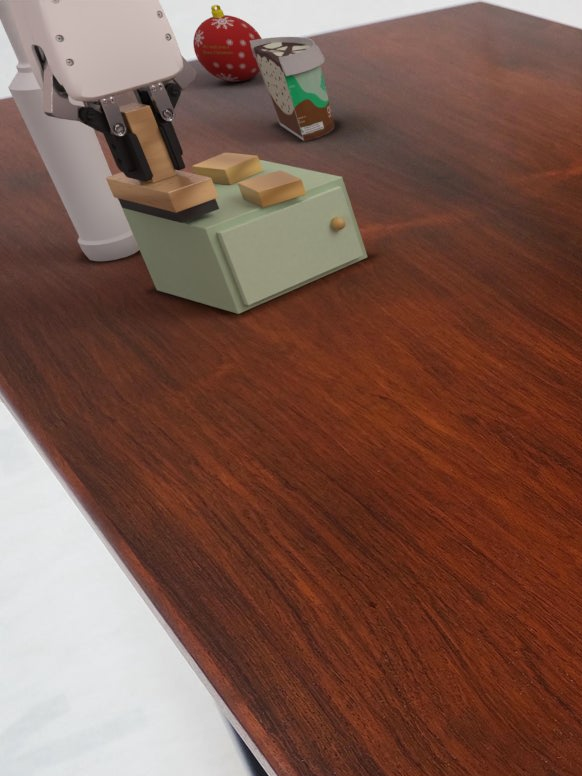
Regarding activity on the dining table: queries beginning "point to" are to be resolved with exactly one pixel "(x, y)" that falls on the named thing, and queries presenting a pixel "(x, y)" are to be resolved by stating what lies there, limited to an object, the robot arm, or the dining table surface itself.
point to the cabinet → (252, 243)
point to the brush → (160, 176)
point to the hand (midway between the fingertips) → (155, 171)
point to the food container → (295, 84)
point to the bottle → (71, 162)
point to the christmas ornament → (226, 47)
